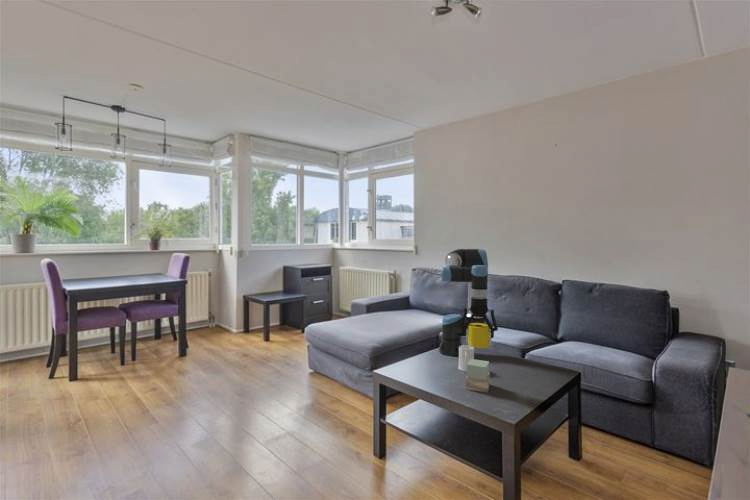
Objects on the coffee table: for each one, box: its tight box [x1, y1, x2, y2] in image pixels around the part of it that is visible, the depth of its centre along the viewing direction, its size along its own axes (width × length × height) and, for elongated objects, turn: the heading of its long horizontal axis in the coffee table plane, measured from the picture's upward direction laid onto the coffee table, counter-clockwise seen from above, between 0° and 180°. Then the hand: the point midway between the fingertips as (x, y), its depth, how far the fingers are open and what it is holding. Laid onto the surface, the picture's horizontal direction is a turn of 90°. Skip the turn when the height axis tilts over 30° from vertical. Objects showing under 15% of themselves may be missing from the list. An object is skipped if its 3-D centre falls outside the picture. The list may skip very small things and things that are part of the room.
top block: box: [466, 358, 490, 380], centre depth 179 cm, size 9×9×6 cm
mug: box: [457, 344, 475, 373], centre depth 201 cm, size 12×8×12 cm
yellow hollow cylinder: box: [467, 323, 490, 349], centre depth 178 cm, size 10×10×9 cm
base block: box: [465, 372, 491, 394], centre depth 179 cm, size 10×10×6 cm
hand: (478, 343), depth 179 cm, fingers closed on yellow hollow cylinder, 10 cm apart
